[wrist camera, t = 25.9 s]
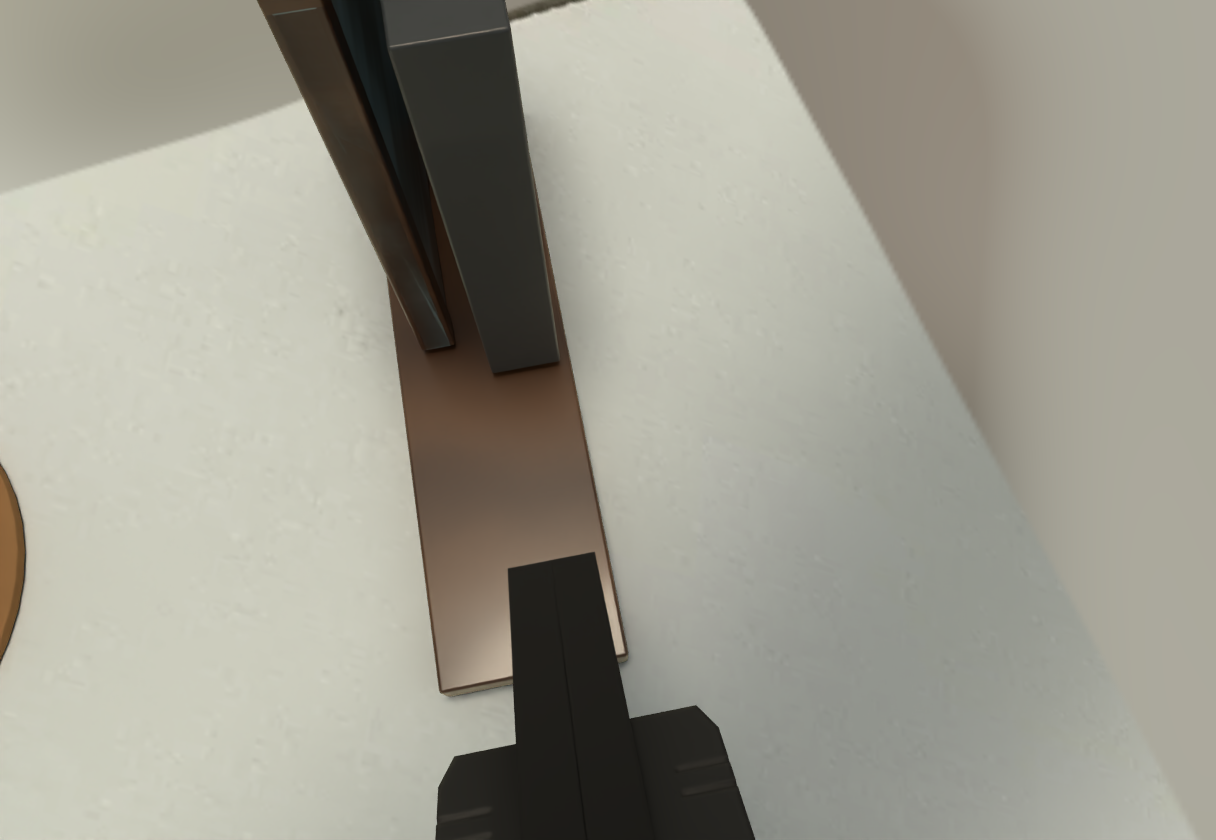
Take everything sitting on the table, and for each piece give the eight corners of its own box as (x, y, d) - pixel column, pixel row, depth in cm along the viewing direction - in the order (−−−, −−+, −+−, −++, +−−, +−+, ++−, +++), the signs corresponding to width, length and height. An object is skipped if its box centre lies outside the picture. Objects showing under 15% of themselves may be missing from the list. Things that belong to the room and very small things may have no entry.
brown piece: (628, 661, 26) (637, 515, 11) (447, 697, 25) (218, 596, 11) (520, 112, 32) (437, -425, 18) (374, 136, 32) (171, -389, 18)
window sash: (560, 361, 27) (511, 29, 15) (492, 374, 27) (386, 49, 15) (513, 116, 30) (439, -325, 18) (451, 126, 30) (335, -311, 18)
